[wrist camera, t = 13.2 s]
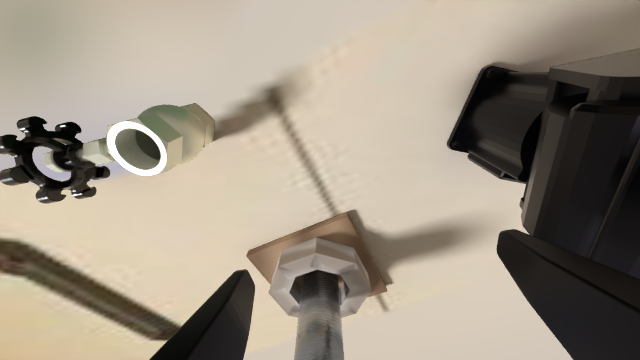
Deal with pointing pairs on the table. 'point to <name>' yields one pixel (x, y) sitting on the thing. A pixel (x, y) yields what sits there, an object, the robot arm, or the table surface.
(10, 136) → the valve
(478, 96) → the robot arm
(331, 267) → the bore block
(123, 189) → the table surface
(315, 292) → the metal pin
